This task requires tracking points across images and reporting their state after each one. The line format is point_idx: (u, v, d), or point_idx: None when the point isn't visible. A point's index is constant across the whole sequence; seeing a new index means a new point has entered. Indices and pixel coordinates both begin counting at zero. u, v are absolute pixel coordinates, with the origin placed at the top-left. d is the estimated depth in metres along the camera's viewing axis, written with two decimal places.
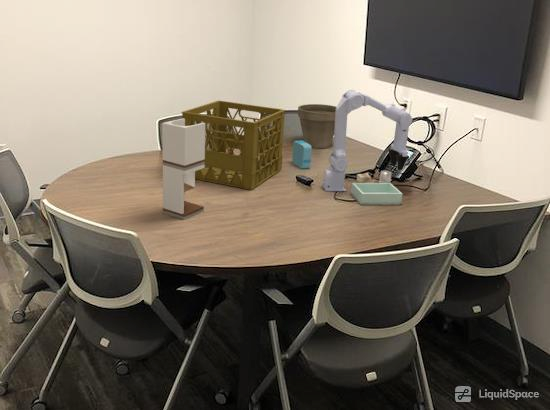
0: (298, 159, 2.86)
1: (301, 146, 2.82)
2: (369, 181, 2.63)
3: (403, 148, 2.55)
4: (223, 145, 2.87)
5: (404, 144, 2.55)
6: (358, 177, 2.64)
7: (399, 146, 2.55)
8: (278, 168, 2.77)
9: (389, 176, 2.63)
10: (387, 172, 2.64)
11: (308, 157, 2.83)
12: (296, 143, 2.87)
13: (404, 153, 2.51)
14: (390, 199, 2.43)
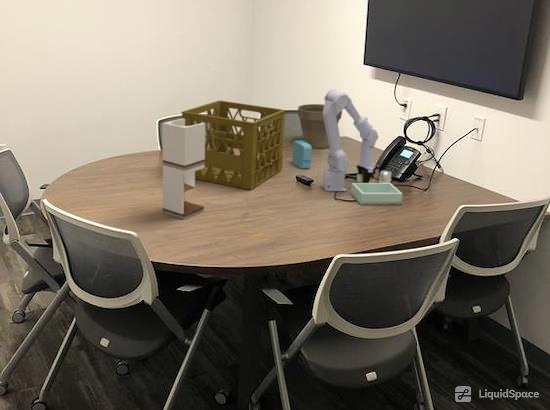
0: (298, 159, 2.86)
1: (301, 146, 2.82)
2: (369, 181, 2.63)
3: (369, 164, 2.59)
4: (224, 145, 2.87)
5: (370, 160, 2.59)
6: (358, 177, 2.64)
7: (365, 162, 2.59)
8: (278, 168, 2.77)
9: (389, 176, 2.63)
10: (387, 172, 2.64)
11: (308, 157, 2.83)
12: (296, 143, 2.87)
13: (369, 169, 2.55)
14: (390, 199, 2.43)
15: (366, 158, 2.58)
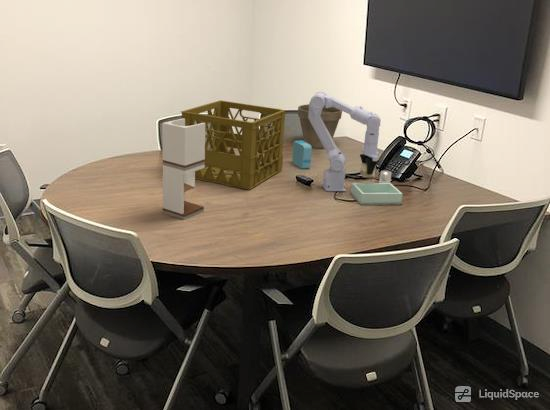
0: (298, 159, 2.86)
1: (301, 146, 2.82)
2: (373, 171, 2.51)
3: (373, 152, 2.48)
4: None
5: (374, 148, 2.47)
6: (362, 166, 2.53)
7: (369, 151, 2.47)
8: (278, 168, 2.76)
9: (389, 176, 2.63)
10: (387, 172, 2.64)
11: (308, 157, 2.83)
12: (296, 143, 2.87)
13: (374, 158, 2.44)
14: (390, 199, 2.43)
15: (370, 146, 2.46)
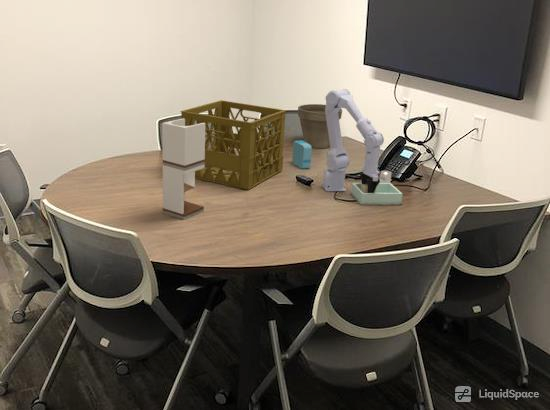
0: (298, 159, 2.86)
1: (301, 146, 2.82)
2: (374, 192, 2.45)
3: (374, 172, 2.41)
4: (225, 145, 2.87)
5: (375, 168, 2.41)
6: (362, 188, 2.47)
7: (369, 170, 2.41)
8: (278, 169, 2.76)
9: (389, 176, 2.63)
10: (387, 172, 2.64)
11: (308, 157, 2.83)
12: (296, 143, 2.87)
13: (374, 177, 2.37)
14: (390, 199, 2.43)
15: (371, 165, 2.40)
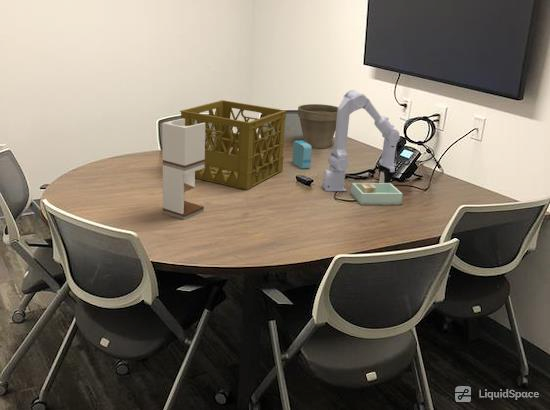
0: (298, 159, 2.86)
1: (301, 146, 2.82)
2: (374, 192, 2.45)
3: (391, 164, 2.60)
4: (226, 145, 2.88)
5: (392, 160, 2.60)
6: (362, 188, 2.47)
7: (386, 162, 2.60)
8: (279, 169, 2.75)
9: None
10: None
11: (308, 157, 2.83)
12: (296, 143, 2.87)
13: (392, 169, 2.56)
14: (390, 199, 2.43)
15: (388, 158, 2.59)
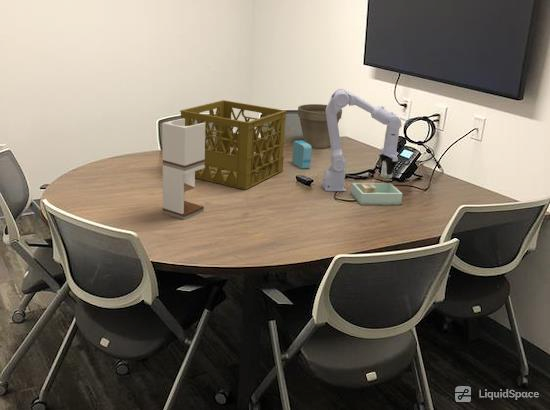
0: (298, 159, 2.86)
1: (301, 146, 2.82)
2: (374, 192, 2.45)
3: (393, 153, 2.50)
4: (227, 145, 2.88)
5: (394, 149, 2.49)
6: (362, 188, 2.47)
7: (389, 151, 2.49)
8: (279, 169, 2.75)
9: None
10: None
11: (308, 157, 2.83)
12: (296, 143, 2.87)
13: (394, 158, 2.46)
14: (390, 199, 2.43)
15: (390, 146, 2.48)
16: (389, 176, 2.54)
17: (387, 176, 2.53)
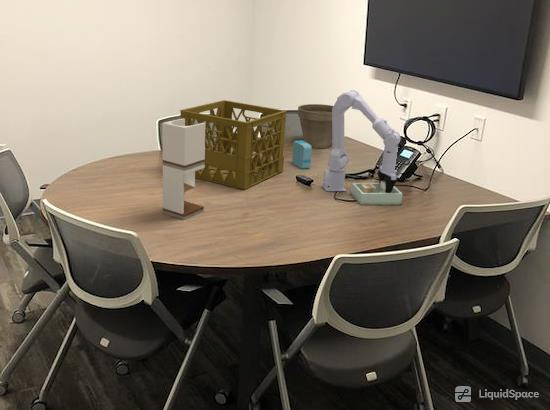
0: (298, 159, 2.86)
1: (301, 146, 2.82)
2: (374, 192, 2.45)
3: (392, 171, 2.43)
4: (228, 145, 2.88)
5: (393, 167, 2.42)
6: (362, 188, 2.47)
7: (387, 169, 2.42)
8: (279, 169, 2.75)
9: None
10: None
11: (308, 157, 2.83)
12: (296, 143, 2.87)
13: (393, 176, 2.39)
14: (390, 199, 2.43)
15: (389, 164, 2.41)
16: None
17: None
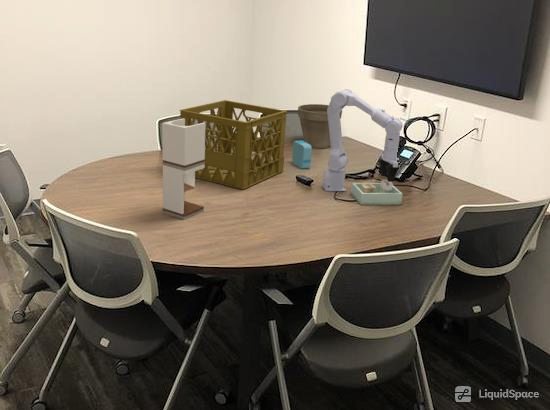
0: (298, 159, 2.86)
1: (301, 146, 2.82)
2: (374, 192, 2.45)
3: (394, 158, 2.41)
4: (228, 145, 2.88)
5: (395, 154, 2.40)
6: (362, 188, 2.47)
7: (389, 157, 2.40)
8: (279, 169, 2.75)
9: (390, 186, 2.46)
10: (388, 182, 2.47)
11: (308, 157, 2.83)
12: (296, 143, 2.87)
13: (394, 164, 2.37)
14: (390, 199, 2.43)
15: (390, 152, 2.40)
16: None
17: None
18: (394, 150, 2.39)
